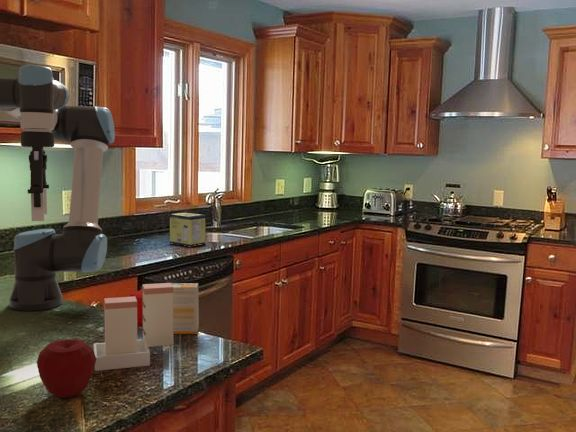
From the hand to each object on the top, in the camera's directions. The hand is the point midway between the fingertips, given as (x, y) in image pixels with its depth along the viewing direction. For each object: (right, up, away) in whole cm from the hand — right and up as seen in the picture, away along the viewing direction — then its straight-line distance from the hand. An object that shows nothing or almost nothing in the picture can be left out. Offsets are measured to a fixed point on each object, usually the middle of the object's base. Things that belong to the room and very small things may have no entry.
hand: (39, 217), depth 143 cm
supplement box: (+33, -31, +14) cm, 48 cm away
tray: (+23, -34, -8) cm, 41 cm away
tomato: (+22, -30, +20) cm, 42 cm away
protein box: (+11, -14, +150) cm, 151 cm away
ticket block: (+28, -32, +4) cm, 43 cm away
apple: (+17, -36, -27) cm, 48 cm away
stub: (+23, -33, -8) cm, 41 cm away
